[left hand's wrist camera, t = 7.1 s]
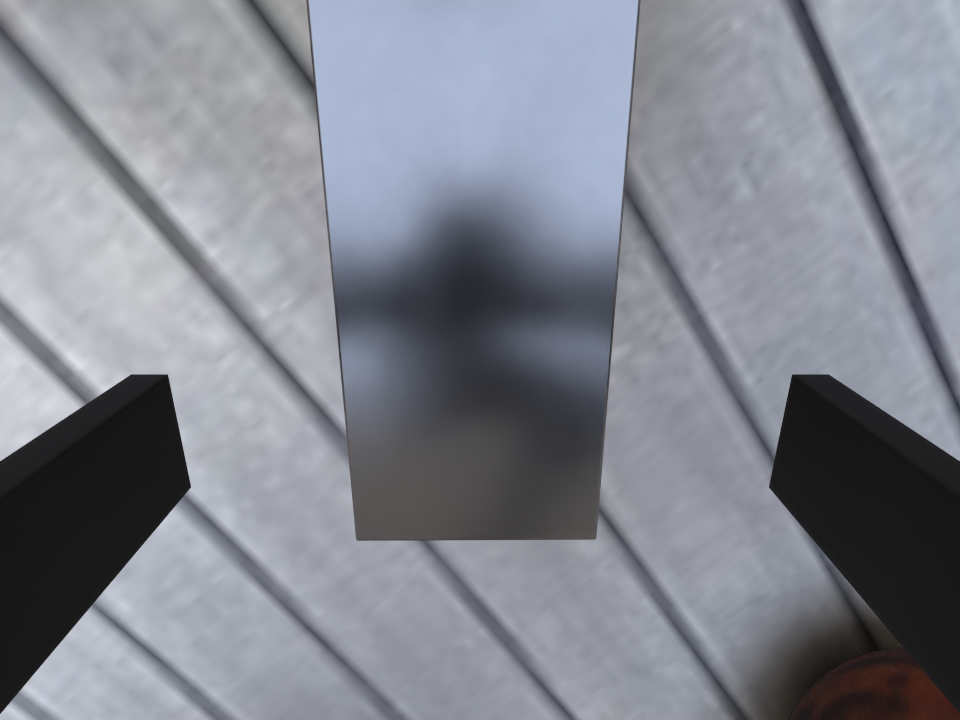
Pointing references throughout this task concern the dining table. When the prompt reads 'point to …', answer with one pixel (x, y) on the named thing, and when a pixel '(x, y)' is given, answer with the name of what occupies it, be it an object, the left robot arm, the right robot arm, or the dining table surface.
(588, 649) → the dining table surface
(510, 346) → the bar
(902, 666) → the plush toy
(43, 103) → the dining table surface
